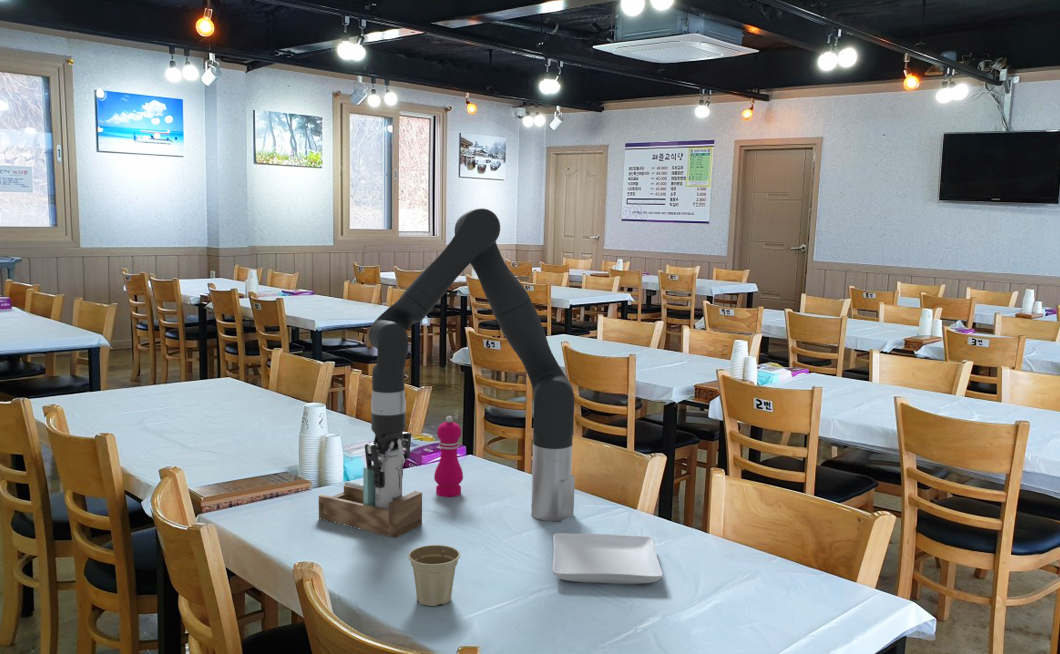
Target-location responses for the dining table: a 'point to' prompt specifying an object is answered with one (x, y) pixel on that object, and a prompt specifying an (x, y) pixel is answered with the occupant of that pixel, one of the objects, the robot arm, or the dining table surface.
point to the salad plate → (605, 558)
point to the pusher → (366, 486)
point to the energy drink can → (390, 480)
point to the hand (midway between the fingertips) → (388, 483)
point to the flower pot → (434, 573)
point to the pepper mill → (448, 460)
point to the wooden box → (372, 512)
